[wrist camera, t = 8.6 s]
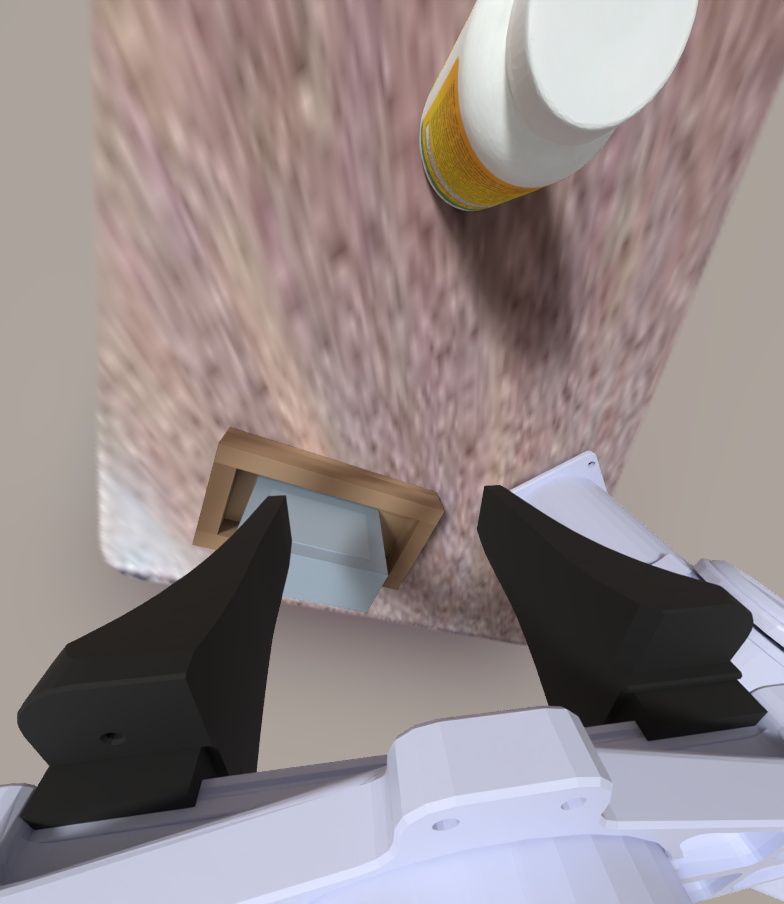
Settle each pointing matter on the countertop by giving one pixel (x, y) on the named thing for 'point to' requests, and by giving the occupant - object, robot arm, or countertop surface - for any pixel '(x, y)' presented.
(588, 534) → the robot arm
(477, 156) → the supplement bottle
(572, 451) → the countertop surface
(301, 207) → the countertop surface
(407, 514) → the wooden tray
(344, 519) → the grey rectangular block
